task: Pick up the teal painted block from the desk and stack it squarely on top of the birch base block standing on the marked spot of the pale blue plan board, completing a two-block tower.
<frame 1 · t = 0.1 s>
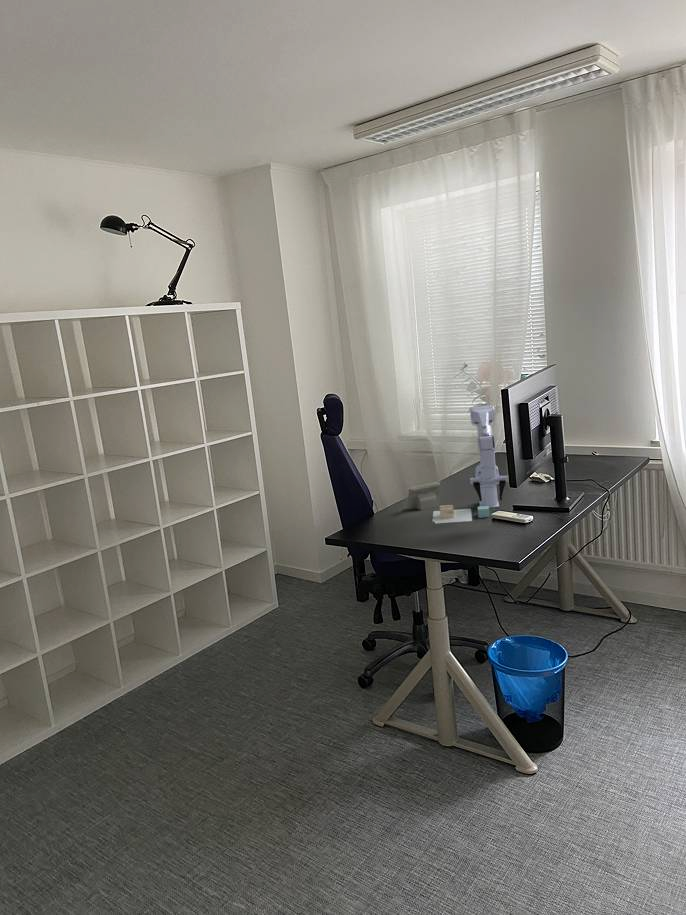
hand: (490, 500, 278), 10 cm above the table, tool pointing down, fingers open, 7 cm apart
base block: (447, 516, 297), resting on plan board
teal block: (484, 517, 292), on the table
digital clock: (424, 507, 316), on the table
plan board: (452, 516, 297), on the table
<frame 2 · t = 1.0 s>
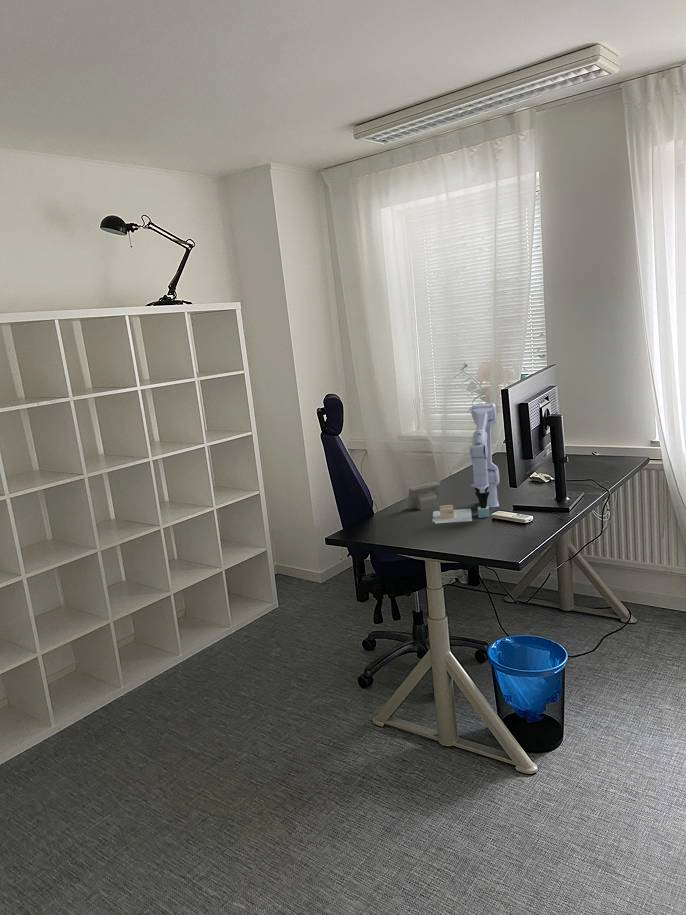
hand: (483, 505, 291), 5 cm above the table, tool pointing down, fingers open, 7 cm apart
nothing on the table moved.
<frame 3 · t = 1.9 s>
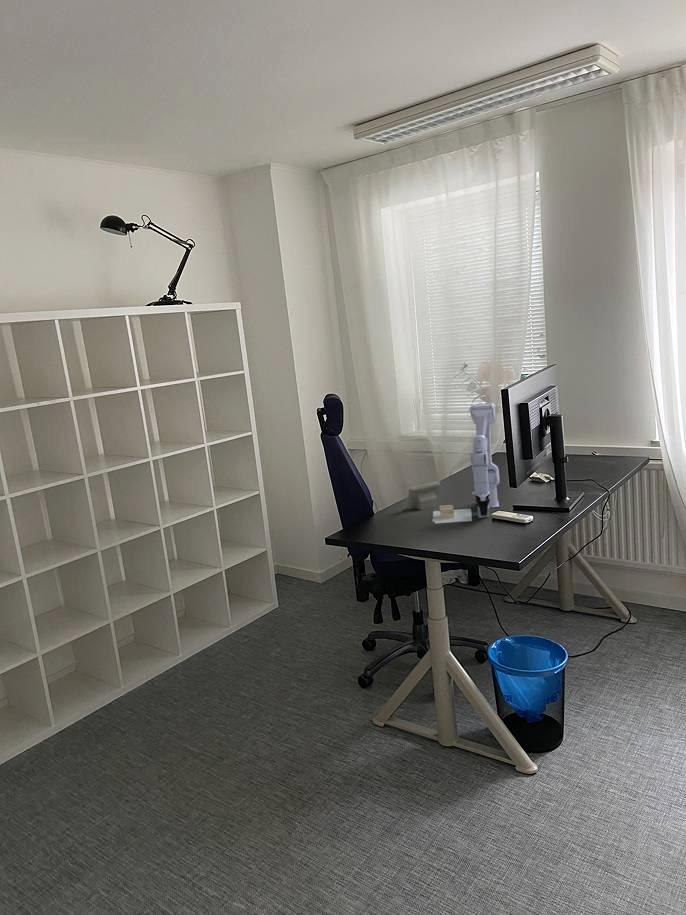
hand: (483, 513, 291), 1 cm above the table, tool pointing down, fingers closed on teal block, 4 cm apart
teal block: (484, 516, 292), on the table, touching gripper
everything else where it was.
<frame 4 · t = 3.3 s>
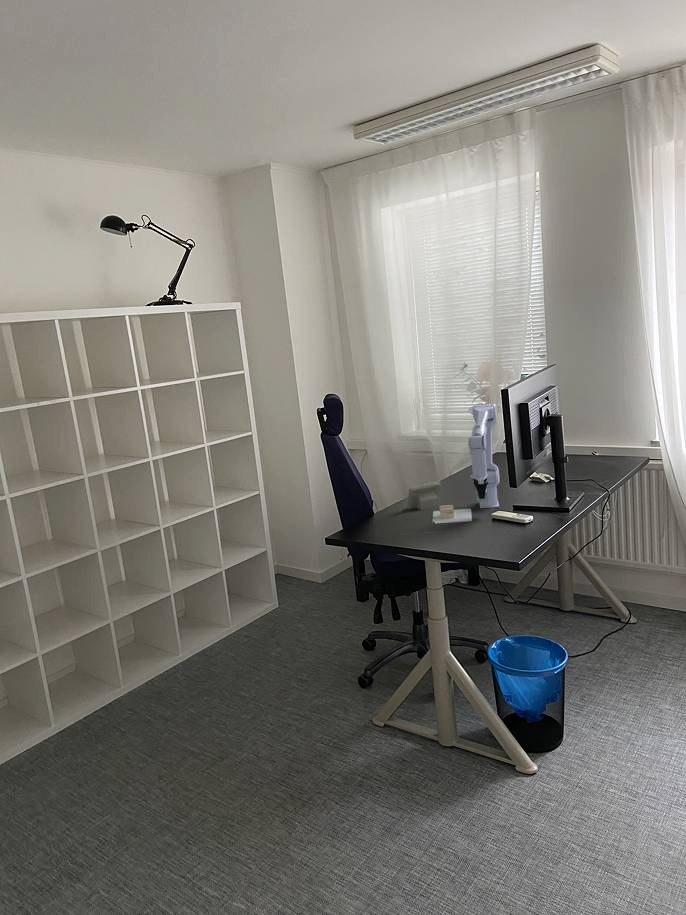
hand: (481, 497, 290), 8 cm above the table, tool pointing down, fingers closed on teal block, 4 cm apart
teal block: (482, 500, 290), point 7 cm above the table, touching gripper
everything else where it was.
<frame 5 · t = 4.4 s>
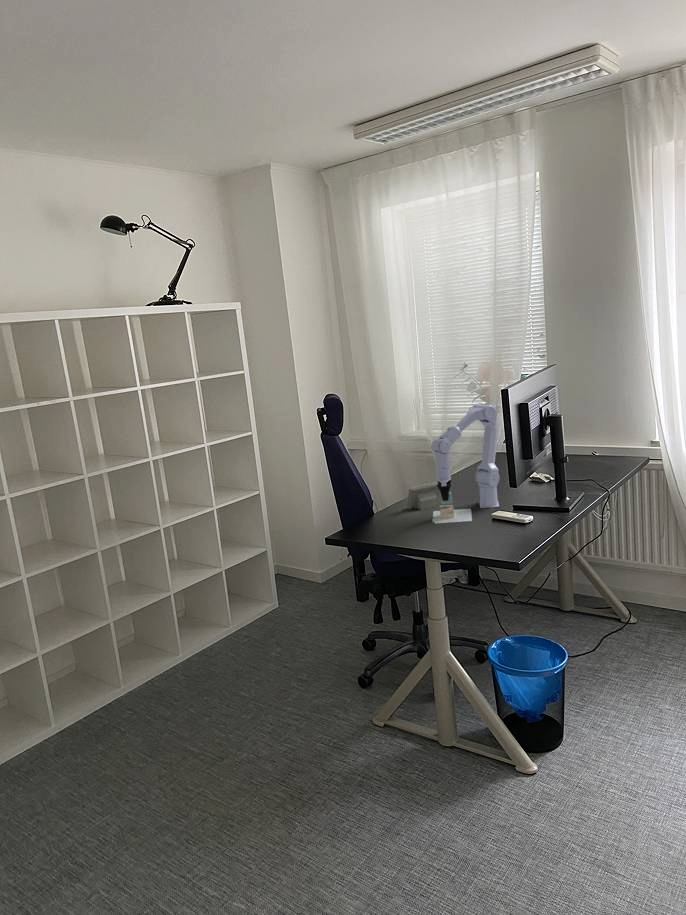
hand: (445, 499, 295), 8 cm above the table, tool pointing down, fingers closed on teal block, 4 cm apart
teal block: (446, 502, 296), point 6 cm above the table, touching gripper
everything else where it was.
when the fingers open (7 cm above the table, at t = 5.0 s): teal block drops 1 cm, resting on base block.
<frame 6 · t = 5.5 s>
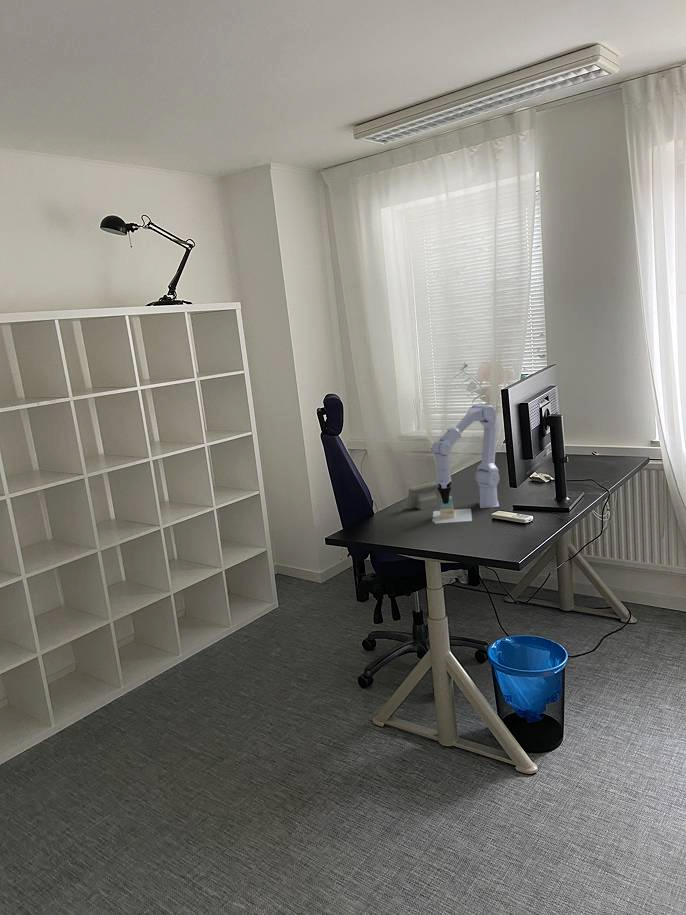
hand: (445, 501, 296), 7 cm above the table, tool pointing down, fingers open, 7 cm apart
base block: (447, 516, 297), resting on plan board, touching teal block
teal block: (447, 507, 296), point 4 cm above the table, touching base block
everything else where it was.
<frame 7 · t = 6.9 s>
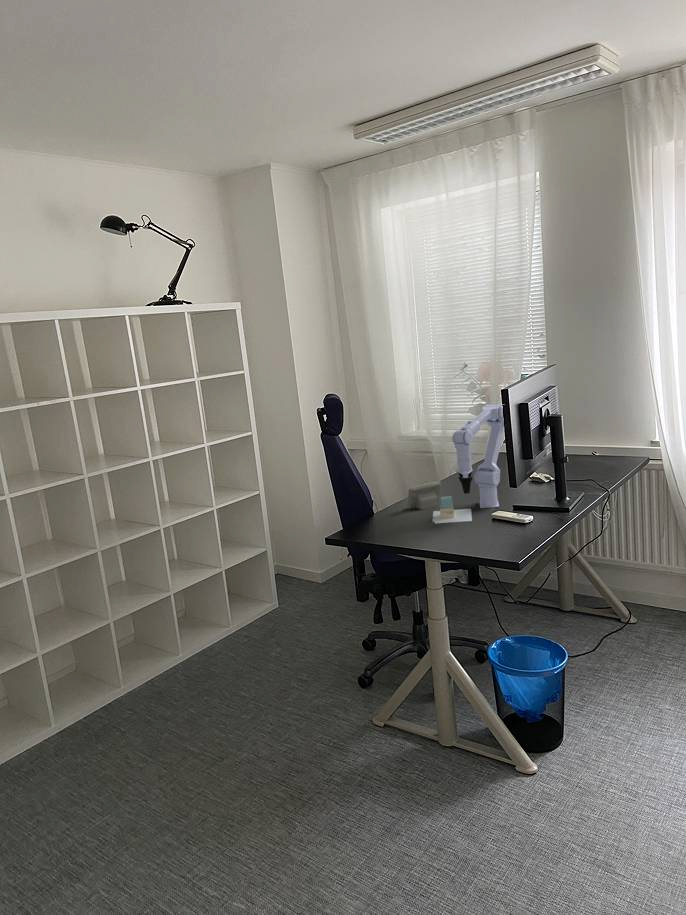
hand: (466, 491, 294), 10 cm above the table, tool pointing down, fingers open, 7 cm apart
nothing on the table moved.
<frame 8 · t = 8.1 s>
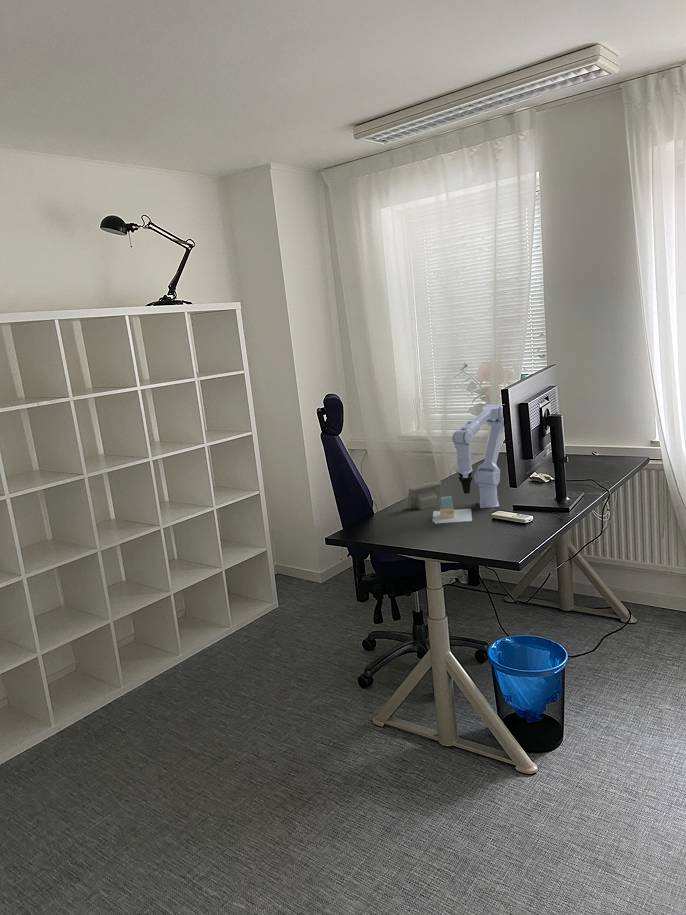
hand: (466, 491, 294), 10 cm above the table, tool pointing down, fingers open, 7 cm apart
nothing on the table moved.
at the end: teal block 0.3 cm off-centre on the base block, point 4.0 cm above the base block's base; teal block tilted 0°; base block moved 0.0 cm from its start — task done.
